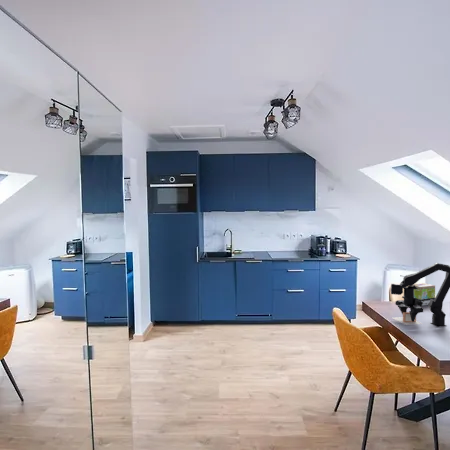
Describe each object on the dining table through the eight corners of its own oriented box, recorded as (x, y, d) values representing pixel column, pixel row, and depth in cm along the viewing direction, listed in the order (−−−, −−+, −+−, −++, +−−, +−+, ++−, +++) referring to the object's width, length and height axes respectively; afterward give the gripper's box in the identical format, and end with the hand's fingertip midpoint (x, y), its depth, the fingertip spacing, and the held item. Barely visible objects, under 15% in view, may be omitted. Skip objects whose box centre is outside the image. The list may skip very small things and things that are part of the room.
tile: (416, 321, 203) (416, 312, 203) (404, 322, 202) (404, 313, 202) (414, 320, 205) (414, 311, 205) (402, 321, 204) (402, 312, 204)
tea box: (421, 306, 237) (421, 287, 237) (409, 303, 247) (409, 284, 246) (435, 304, 243) (435, 285, 242) (423, 300, 252) (423, 282, 252)
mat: (423, 324, 199) (423, 323, 199) (405, 325, 198) (405, 324, 198) (407, 317, 213) (407, 316, 213) (391, 318, 212) (391, 317, 212)
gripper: (431, 298, 195) (431, 323, 195) (410, 291, 213) (410, 314, 214) (414, 299, 193) (414, 324, 194) (394, 292, 212) (395, 315, 212)
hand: (408, 319), depth 203 cm, fingers open, 7 cm apart
